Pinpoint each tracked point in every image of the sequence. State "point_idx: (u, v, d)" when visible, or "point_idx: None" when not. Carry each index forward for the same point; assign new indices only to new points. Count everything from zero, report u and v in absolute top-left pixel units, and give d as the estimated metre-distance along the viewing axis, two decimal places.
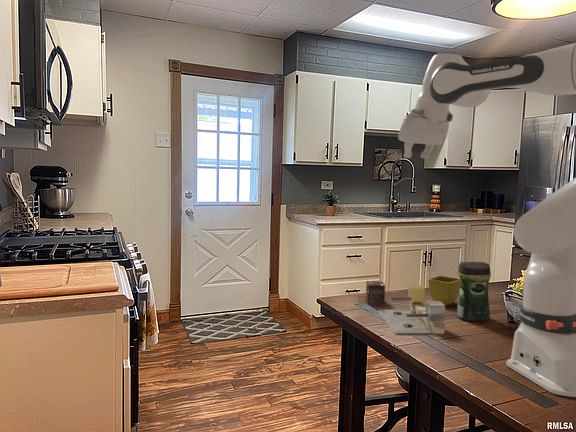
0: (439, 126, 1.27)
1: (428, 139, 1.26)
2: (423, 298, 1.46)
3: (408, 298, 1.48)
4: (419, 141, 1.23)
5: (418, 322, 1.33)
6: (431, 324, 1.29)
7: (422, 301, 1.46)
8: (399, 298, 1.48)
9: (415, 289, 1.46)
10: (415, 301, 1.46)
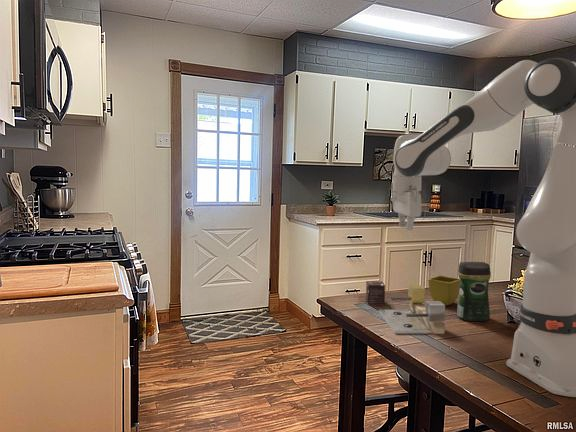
0: None
1: None
2: (423, 298, 1.46)
3: (408, 298, 1.48)
4: None
5: (418, 322, 1.33)
6: (431, 324, 1.29)
7: (422, 301, 1.46)
8: (399, 298, 1.48)
9: (415, 289, 1.46)
10: (415, 301, 1.46)
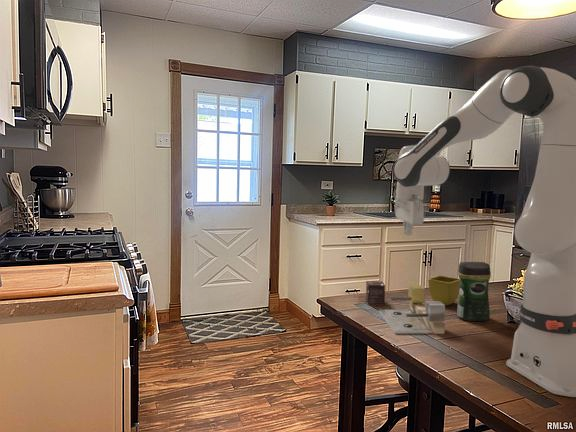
0: None
1: None
2: (423, 298, 1.46)
3: (408, 298, 1.48)
4: None
5: (418, 322, 1.33)
6: (431, 324, 1.29)
7: (422, 301, 1.46)
8: (399, 298, 1.48)
9: (415, 289, 1.46)
10: (415, 301, 1.46)
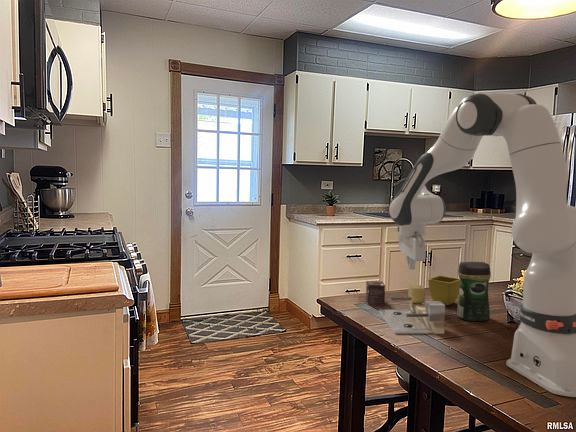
0: None
1: None
2: (423, 298, 1.46)
3: (408, 298, 1.48)
4: None
5: (418, 322, 1.33)
6: (431, 324, 1.29)
7: (422, 301, 1.46)
8: (399, 298, 1.48)
9: (415, 289, 1.46)
10: (415, 301, 1.46)
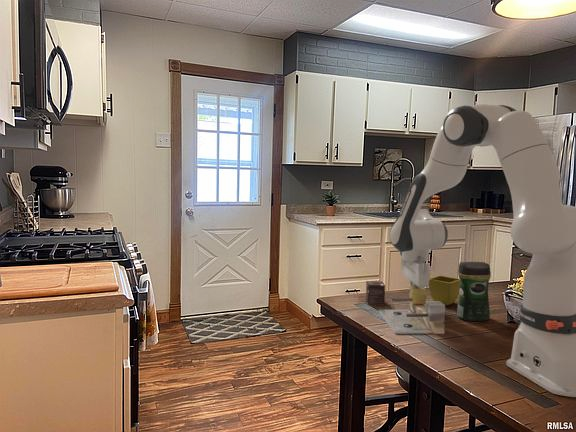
0: None
1: None
2: (424, 299, 1.45)
3: (409, 299, 1.46)
4: None
5: (418, 322, 1.33)
6: (431, 324, 1.29)
7: (423, 302, 1.45)
8: (400, 299, 1.46)
9: (416, 290, 1.44)
10: (416, 302, 1.45)
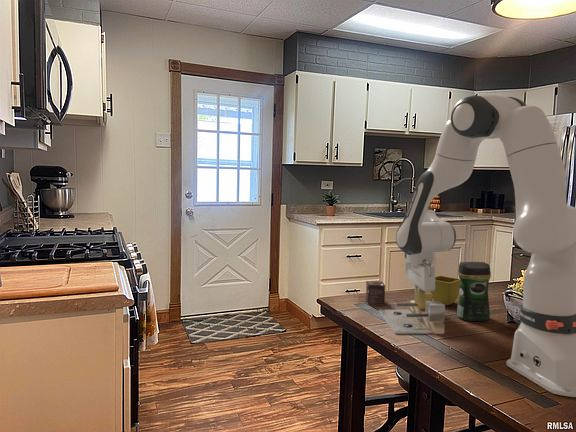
0: None
1: None
2: None
3: (414, 304, 1.41)
4: None
5: (418, 322, 1.33)
6: (431, 324, 1.29)
7: None
8: (405, 304, 1.40)
9: (422, 295, 1.39)
10: (422, 307, 1.39)
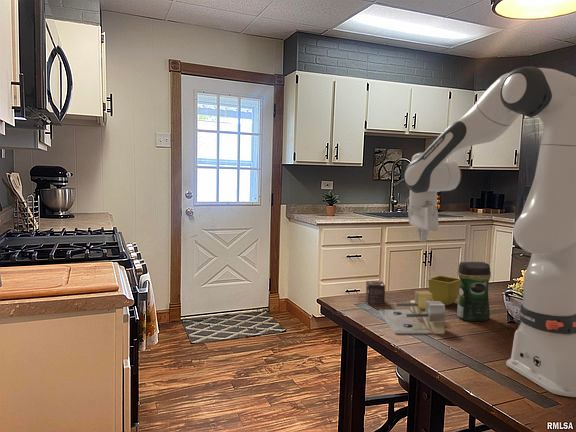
0: None
1: None
2: None
3: (414, 304, 1.41)
4: None
5: (418, 322, 1.33)
6: (431, 324, 1.29)
7: None
8: (405, 304, 1.40)
9: (422, 295, 1.39)
10: (422, 307, 1.39)
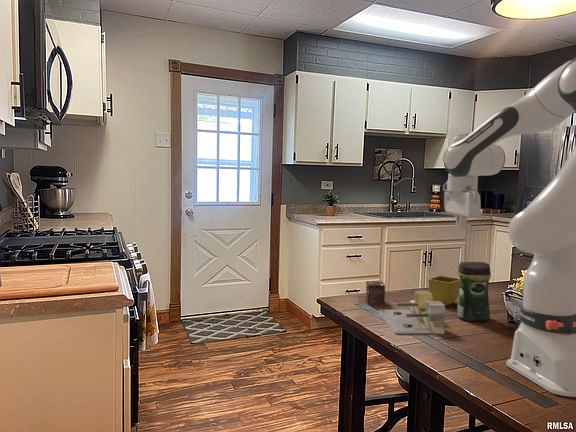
0: None
1: None
2: None
3: (414, 304, 1.41)
4: None
5: (418, 322, 1.33)
6: (431, 324, 1.29)
7: None
8: (405, 304, 1.40)
9: (422, 295, 1.39)
10: (422, 307, 1.39)
